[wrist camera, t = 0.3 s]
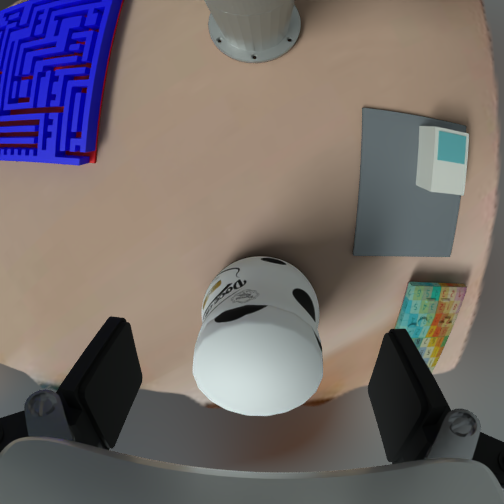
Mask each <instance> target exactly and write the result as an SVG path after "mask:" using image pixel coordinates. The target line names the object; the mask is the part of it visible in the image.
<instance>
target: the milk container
mask: <svg viewBox="0 0 504 504" xmlns="http://www.w3.org/2000/svg"><path fill="white" fill-rule="evenodd" d="M202 323H203V324H202V327H201V329H200V332H199V335H198V338H197V341H196V344H195V350H194V360H193V375H194V378H195V380H196V383H197V385H198V388H199V389H200V390H201V391H202V392H203V393H204V394H205V395H206V396H207V397H208V398H209V400H210V401H212V402H214V403H215V404H217V405H219V406H221V407H222V408H224V409H226V410H229V411H232V412H236V413H240V414H243V415H252V416H269V415H274V414H279V413H284V412H287V411H289V410H291V409H293V408H296V407H298V406H300V405H302V404H304V403H305V402H306V401H307V400H308V399H309V398H310V397H311V396H312V395H313V394H314V393H315V392H316V391H317V388H318V386H319V384H320V382H321V379H322V377H323V359H322V347H321V341H320V337H319V333H318V329H317V328H318V323H319V304H318V300H317V296H316V294H315V291H314V289H313V287H312V285H311V284H310V282H309V281H308V280H307V278H306V277H305V276H304V275H303V274H302V272H300V271H299V270H298V269H297V268H296V267H294V266H293V265H291V264H289V263H287V262H285V261H283V260H280V259H277V258H272V257H264V256H256V257H249V258H244V259H241V260H238V261H236V262H234V263H232V264H230V265H229V266H227V267H226V268H224V269H223V270H222V271H221V272H220V273H219V274H218V275H217V276H216V277H215V279H214V280H213V281H212V283H211V284H210V286H209V287H208V289H207V292H206V294H205V297H204V300H203V305H202Z"/></svg>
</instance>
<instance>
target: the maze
mask: <svg viewBox="0 0 504 504" xmlns="http://www.w3.org/2000/svg"><path fill="white" fill-rule="evenodd" d="M123 2H124V0H29V1H26V2H23V3H20V4H17V5H15V6H12V7H9V8H7V9H4V10H2V11H0V160H5V161H26V162H43V163H57V164H69V165H82V164H86V163H96V152H97V141H98V131H99V122H100V114H101V106H102V99H103V93H104V87H105V81H106V75H107V69H108V64H109V59H110V54H111V49H112V45H113V40H114V36H115V32H116V28H117V24H118V20H119V16H120V12H121V9H122V5H123Z"/></svg>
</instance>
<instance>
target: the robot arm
mask: <svg viewBox="0 0 504 504" xmlns="http://www.w3.org/2000/svg"><path fill="white" fill-rule="evenodd" d="M204 1H205V2H206V4H207V6H208V8H209V10H210V12H211V14H210V16H209V23H208V26H209V33H210V36H211V39H212V40H213V42H214V44H215V45H216V46H217V48H218V49H219V50H220V51H221V52H223V53H224V54H225V55H227V56H229V57H230V58H232V59H235V60H237V61H241V62H246V63H262V62H268V61H271V60H274V59H276V58H278V57H280V56H282V55H284V54H285V53H286V52H288V51H289V50H290V49H291V48H292V46H293V45H294V44H295V42H296V40H297V39H298V36H299V33H300V28H301V19H300V15H299V12H298V10H297V8H296V6H295V5H294V2H295V0H204ZM289 39H290V40H291V42H289V41H288V40H289ZM219 40H221V42H220V43H218V41H219ZM254 56H255V57H257V58H256V59H253V57H254ZM141 383H142V372H141V368H140V364H139V360H138V356H137V352H136V348H135V343H134V339H133V334H132V330H131V325H130V323H128V322H126V320H125V319H124V318H119V317H109V318H108V319H107V321H106V322H105V323H104V325H103V326H102V327H101V329H100V330H99V331H98V333H97V334H96V336H95V337H94V338H93V340H92V341H91V342H90V344H89V345H88V347H87V348H86V349H85V351H84V352H83V354H82V355H81V356H80V358H79V359H78V361H77V362H76V363H75V365H74V366H73V368H72V369H71V371H70V372H69V374H68V375H67V376H66V378H65V379H64V381H63V382H62V384H61V385H60V387H59V389H58V390H57V392H54V391H52V390H46V389H44V390H39V391H36V392H34V393H33V394H31V395H30V396H29V397H28V398H27V400H26V402H25V405H24V411H21V412H18V413H15V414H12V415H9V416H6V417H3V418H0V504H504V442H502V441H500V440H497V439H495V438H493V437H490V436H488V435H486V434H484V433H482V432H480V429H481V425H480V421H479V419H478V418H477V416H476V415H474V414H473V413H472V412H470V411H468V410H465V409H454V410H451V409H450V407H449V406H448V403H447V402H446V400H445V398H444V396H443V394H442V392H441V390H440V388H439V386H438V384H437V382H436V380H435V379H434V377H433V375H432V373H431V371H430V369H429V367H428V366H427V364H426V363H425V361H424V360H423V358H422V356H421V354H420V352H419V351H418V349H417V347H416V345H415V344H414V342H413V340H412V338H411V337H410V335H409V333H408V332H407V330H406V329H391V330H390V331H389V333H386V334H385V335H384V338H383V341H382V345H381V348H380V351H379V354H378V358H377V361H376V364H375V367H374V370H373V373H372V376H371V379H370V382H369V385H368V394H369V397H370V401H371V404H372V407H373V410H374V414H375V417H376V421H377V424H378V428H379V431H380V435H381V438H382V442H383V445H384V449H385V453H386V456H387V460H388V461H389V462H392V464H391V465H384V466H376V467H369V468H359V469H350V470H338V471H325V472H298V473H272V472H270V473H269V472H245V471H244V472H243V471H229V470H218V469H208V468H200V467H192V466H185V465H178V464H172V463H166V462H160V461H155V460H150V459H145V458H140V457H136V456H131V455H127V454H122V453H118V452H114V451H109V448H113V447H114V446H115V444H116V441H117V439H118V437H119V434H120V432H121V429H122V427H123V425H124V422H125V420H126V418H127V415H128V413H129V411H130V408H131V406H132V404H133V401H134V399H135V397H136V395H137V392H138V390H139V388H140V386H141Z"/></svg>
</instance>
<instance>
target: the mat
mask: <svg viewBox="0 0 504 504" xmlns="http://www.w3.org/2000/svg"><path fill="white" fill-rule="evenodd" d="M419 126H435V127H440V128H445V129H450V130H455V131H459V132H463V133H466V126H464V125H460V124H456V123H451V122H447V121H442V120H437V119H432V118H427V117H422V116H416V115H411V114H405V113H398V112H392V111H385V110H378V109H370V108H362V142H361V164H360V181H359V195H358V208H357V219H356V229H355V238H354V247H353V255H354V256H417V257H450V254H451V250H452V245H453V240H454V235H455V229H456V223H457V217H458V211H459V204H460V197H461V195H455V194H447V193H438V192H430V191H428V190H426V189H424V188H421V187H419V186H417V185H416V176H417V163H418V148H419Z"/></svg>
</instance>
